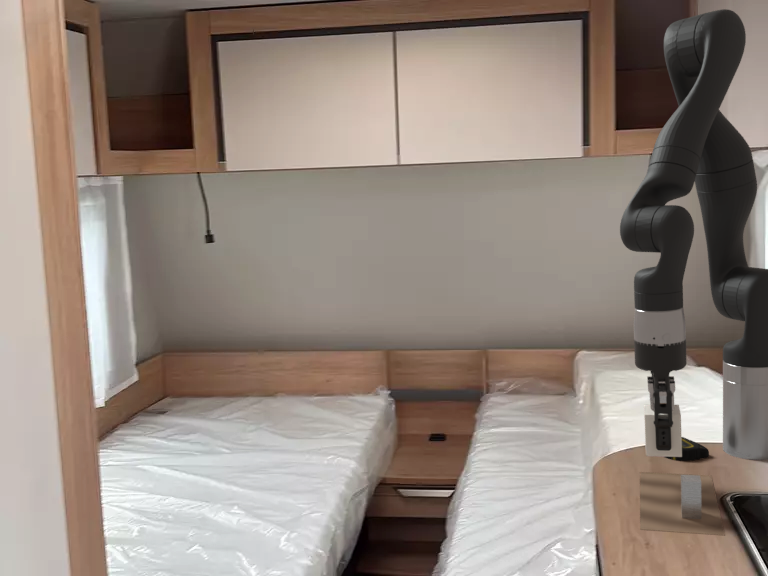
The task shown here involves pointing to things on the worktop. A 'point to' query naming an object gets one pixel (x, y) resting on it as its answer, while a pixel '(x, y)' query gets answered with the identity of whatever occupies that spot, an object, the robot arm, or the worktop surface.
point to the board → (676, 505)
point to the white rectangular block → (651, 433)
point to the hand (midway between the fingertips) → (662, 442)
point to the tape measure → (691, 451)
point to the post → (691, 496)
